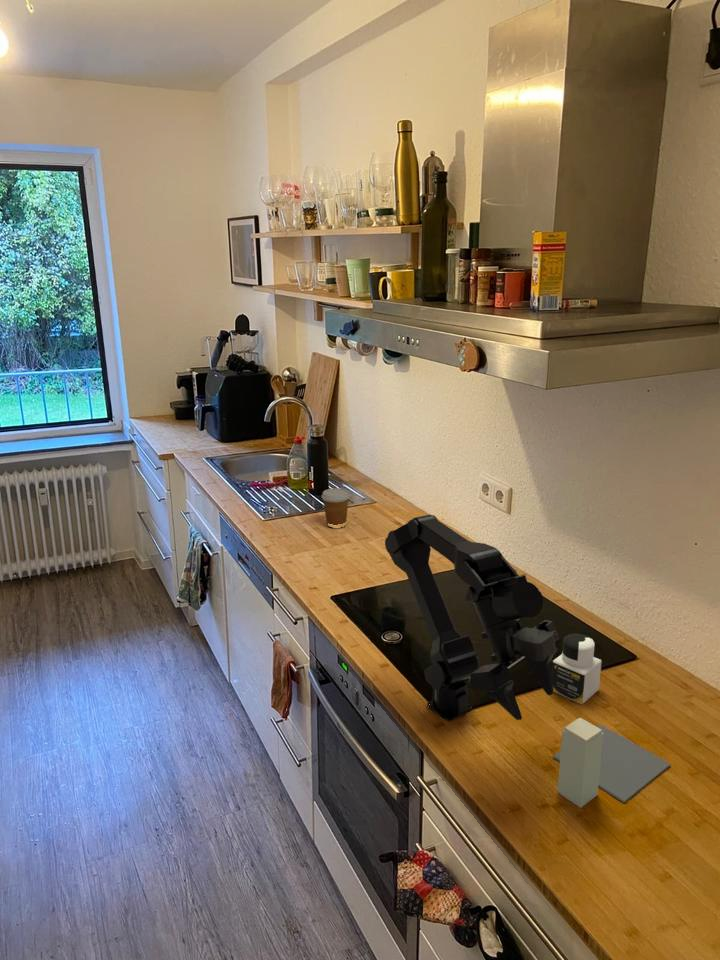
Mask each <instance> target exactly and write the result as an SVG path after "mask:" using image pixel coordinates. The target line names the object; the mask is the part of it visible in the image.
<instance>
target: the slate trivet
mask: <svg viewBox="0 0 720 960" xmlns="http://www.w3.org/2000/svg"><path fill="white" fill-rule="evenodd" d="M596 727H598V728H600V729H601V730H602V733H603V743H602V753H601V764H600V774H599V784H598V788H599V789H601V790H602V791H604V792H605V793H607V794H609V795H611V796H612V797H614V798H615V799H617V800H619V801H620V802H621V803H623V804H626V803H627V801H628V800H630V799H631V798H632V797H634V796H635V795H636V794H637V793H639V792H640V791H641V790H643V788H645V787H646V786H647V785H648V784H650V783H651V782H652V781H654V780H655V779H656V778H657V777H658V776H660V775H661V774H662V773H664V771H666V770H667V769H668V768H669V767H671V763H670V762H668V761H666V760H665V759H663V758H661V757H659V756H657V755H656V754H654V753H652V752H650V751H648V750H647V749H645V748H643V747H641V746H639V744H638V745H637V744H636V743H634V742H633V741H631V740H630V739H627V738H625V737H623V736H622V735H621V734H618V733H617V732H615V731H613V730H611V729H609V728H608V727H605V726H604V725H602V724H598V725H597V726H596ZM560 755H561V750H560V751H558V752H557V753H555V754H554V755H553V756H552V758H553V759H555V760H556V761H557V762H559V763H560Z"/></svg>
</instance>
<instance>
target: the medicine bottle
mask: <svg viewBox="0 0 720 960" xmlns="http://www.w3.org/2000/svg"><path fill="white" fill-rule="evenodd" d="M594 654H595V641H594V640H593V638H591V637H590V636H589V635H586V634H582V633H570V634H567V635H566V636H563V639H562V650H561V654H560V655H559V656H558V657H556V658H554V659H552V665H551V672H552V684H553V693H555V694H558V695H560V696H563V697H564V698H567V699H569V700H571V701H572V702H575V703H578V704H579V705H583V704H585V703H586V702H587V701H588V700H589V699H591V697H593V695H595V694H596V693H597V692H598V691H599V690H600V680H601V671H602V662H603V661H602V659H601V658H600V659H599V658H597V657H595V656H594Z"/></svg>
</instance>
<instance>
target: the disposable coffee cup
mask: <svg viewBox="0 0 720 960" xmlns="http://www.w3.org/2000/svg"><path fill="white" fill-rule="evenodd" d="M350 498H351V495H350V492H349V490H347V489H345V488H339V487H338V488H337V487H335V488H333V487H332V488H329V489H325V490H324V491H322V494H321V499H322V500H323V501H322V502H323V506H324V513H325V519H326V524H327V523H329V524H333V525H338V524H343V523H345V522H346V523H347V518H348V508H349V507H348V506H349V499H350Z"/></svg>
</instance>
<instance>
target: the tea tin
mask: <svg viewBox="0 0 720 960" xmlns="http://www.w3.org/2000/svg"><path fill="white" fill-rule="evenodd" d="M602 743H603V733H602V730H601V729H600V728H598V727H597V726H596V725H594V724H592V723H590V722H589V721H587V720H585V719H584V718H582V717H579V718H577V719H575V720H573V721H572V722H571V723H569V724H567V725H566V726H565V727H564V729H562V730H561V745H560V751H561V755H560V762H559V768H558V769H559V770H558V772H559V773H558V780H557V781H558V782H557V783H558V785H557V793H558V794H559V795H561V796H563V798H566V799H567V800H568V801H570V802H572V803H573V804H575V805H576V806H577V807H579V808H581V809H582V807H584V806H585V805H586V804H588V803H589V802H591V801H592V800H593V799H595V797H597V796H598V791H599V787H598V784H599V774H600V764H601V753H602Z"/></svg>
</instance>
